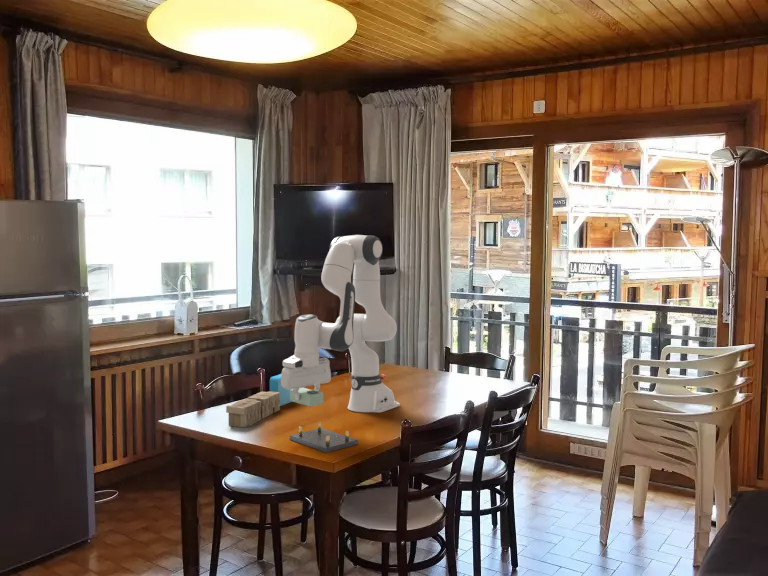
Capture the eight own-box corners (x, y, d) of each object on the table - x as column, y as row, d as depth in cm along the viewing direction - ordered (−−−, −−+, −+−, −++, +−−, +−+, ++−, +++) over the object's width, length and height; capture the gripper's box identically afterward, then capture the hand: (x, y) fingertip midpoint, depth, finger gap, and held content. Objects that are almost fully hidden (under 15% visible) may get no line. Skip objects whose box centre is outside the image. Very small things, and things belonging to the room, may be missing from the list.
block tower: (262, 411, 292) (225, 427, 264) (263, 390, 291) (225, 404, 263) (280, 412, 289) (244, 429, 261) (280, 392, 289) (244, 406, 261)
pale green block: (303, 398, 264) (303, 385, 264) (323, 403, 256) (323, 391, 255) (289, 400, 260) (289, 388, 260) (309, 406, 252) (309, 393, 251)
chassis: (321, 432, 258) (321, 419, 257) (357, 444, 243) (358, 431, 243) (289, 439, 248) (289, 426, 248) (325, 452, 234) (326, 439, 233)
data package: (285, 399, 307) (285, 372, 306) (294, 401, 305) (294, 373, 304) (269, 405, 296) (269, 377, 295) (278, 407, 294) (278, 378, 293)
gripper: (323, 355, 266) (323, 392, 267) (278, 362, 252) (278, 400, 253) (334, 357, 262) (334, 395, 263) (289, 364, 248) (289, 403, 249)
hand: (306, 397), depth 258 cm, fingers closed on pale green block, 6 cm apart
